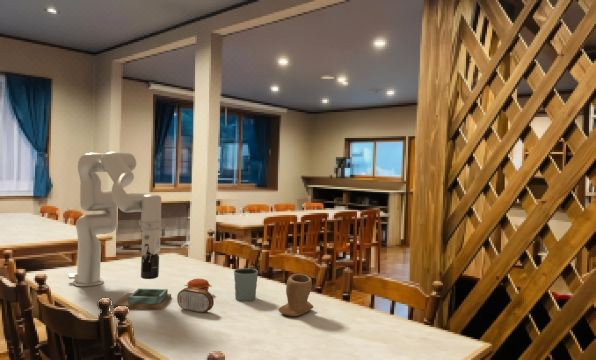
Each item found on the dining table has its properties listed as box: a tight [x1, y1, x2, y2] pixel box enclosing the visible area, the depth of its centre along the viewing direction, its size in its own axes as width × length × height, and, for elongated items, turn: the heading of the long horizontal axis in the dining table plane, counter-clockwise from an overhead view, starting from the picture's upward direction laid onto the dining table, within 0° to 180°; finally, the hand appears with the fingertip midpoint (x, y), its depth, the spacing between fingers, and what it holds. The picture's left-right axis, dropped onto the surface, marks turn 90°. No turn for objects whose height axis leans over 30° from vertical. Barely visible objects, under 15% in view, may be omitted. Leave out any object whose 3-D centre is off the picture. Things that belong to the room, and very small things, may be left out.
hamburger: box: [183, 278, 213, 292], centre depth 188 cm, size 9×10×7 cm
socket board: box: [112, 288, 172, 311], centre depth 173 cm, size 18×16×4 cm
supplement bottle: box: [140, 253, 160, 280], centre depth 172 cm, size 7×7×12 cm
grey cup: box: [233, 267, 259, 303], centre depth 183 cm, size 10×10×12 cm
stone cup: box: [277, 273, 314, 317], centre depth 168 cm, size 15×12×15 cm
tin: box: [176, 287, 215, 314], centre depth 166 cm, size 15×3×8 cm, turn 71°
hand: (150, 269), depth 172 cm, fingers closed on supplement bottle, 6 cm apart
